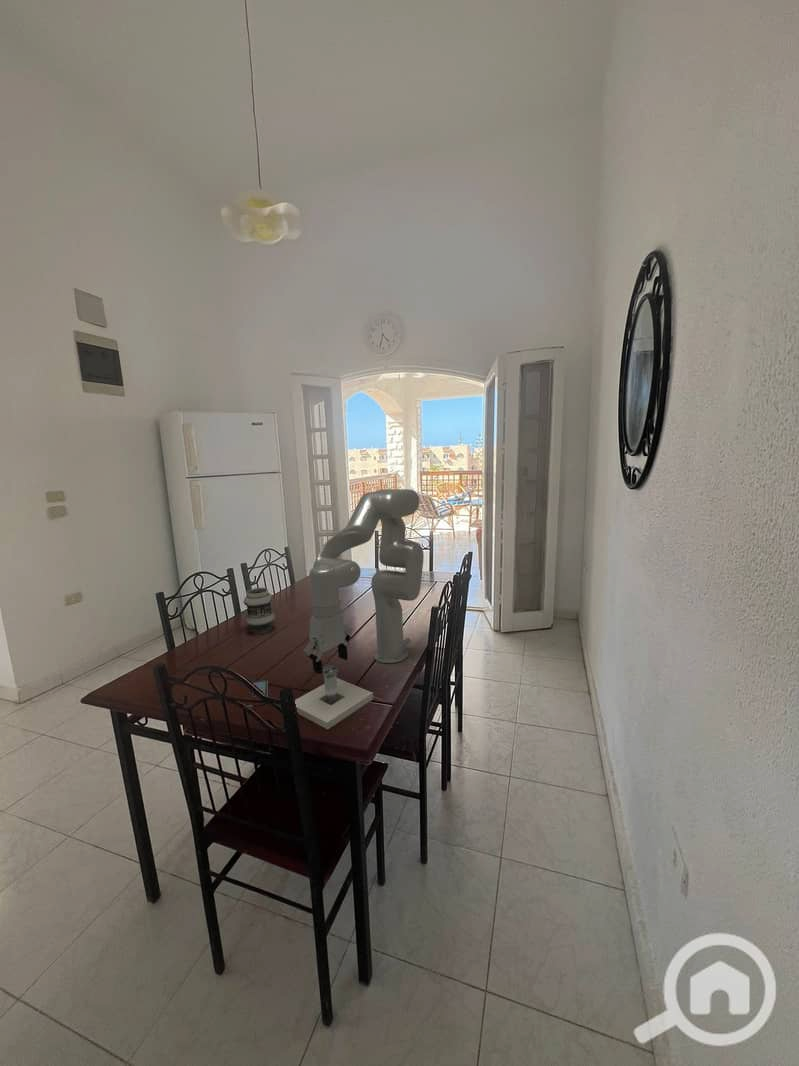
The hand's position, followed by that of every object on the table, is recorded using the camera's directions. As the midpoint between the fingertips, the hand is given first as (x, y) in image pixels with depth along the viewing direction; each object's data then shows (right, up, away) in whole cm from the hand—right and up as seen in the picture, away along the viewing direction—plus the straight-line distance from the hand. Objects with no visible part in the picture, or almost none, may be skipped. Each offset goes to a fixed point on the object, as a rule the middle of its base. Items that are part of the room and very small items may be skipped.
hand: (331, 665), depth 124 cm
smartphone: (-25, -12, +9) cm, 29 cm away
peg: (0, -12, +1) cm, 12 cm away
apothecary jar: (-39, -4, +59) cm, 71 cm away
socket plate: (0, -12, +1) cm, 12 cm away
